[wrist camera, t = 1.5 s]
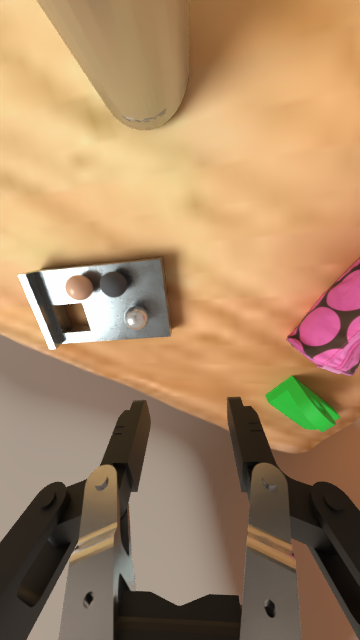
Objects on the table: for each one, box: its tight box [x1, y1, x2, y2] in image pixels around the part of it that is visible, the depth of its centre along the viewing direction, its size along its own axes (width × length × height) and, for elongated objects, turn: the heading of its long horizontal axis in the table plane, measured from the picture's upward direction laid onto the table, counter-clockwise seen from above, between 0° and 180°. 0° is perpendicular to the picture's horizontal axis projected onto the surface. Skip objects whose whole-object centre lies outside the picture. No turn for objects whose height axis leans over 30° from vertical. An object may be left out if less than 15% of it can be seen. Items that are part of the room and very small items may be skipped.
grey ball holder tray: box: [18, 257, 172, 349], centre depth 28 cm, size 11×18×4 cm, turn 96°
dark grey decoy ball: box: [100, 272, 127, 298], centre depth 25 cm, size 3×3×3 cm
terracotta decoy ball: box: [65, 275, 93, 300], centre depth 25 cm, size 3×3×3 cm
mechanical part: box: [265, 376, 340, 432], centre depth 33 cm, size 12×6×8 cm, turn 51°
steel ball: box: [124, 306, 148, 330], centre depth 26 cm, size 3×3×3 cm
